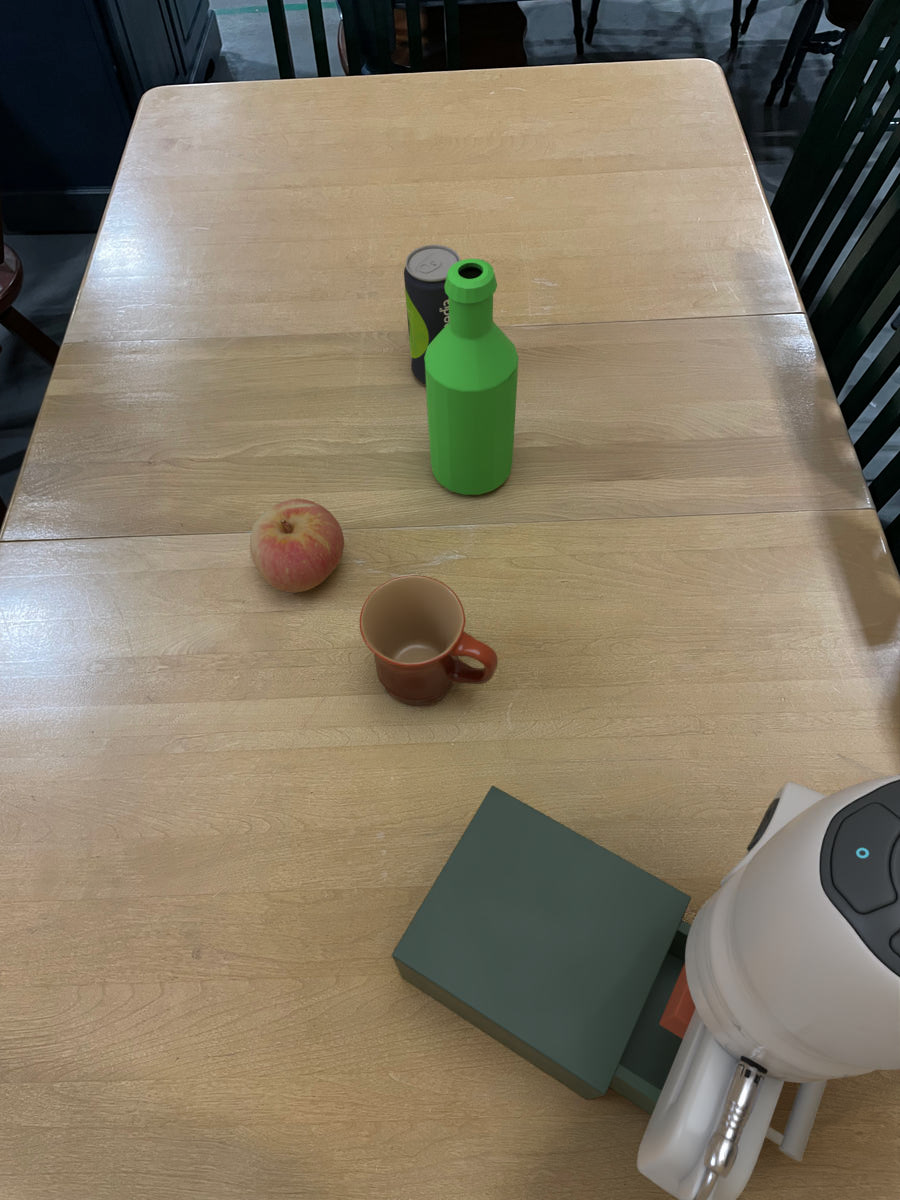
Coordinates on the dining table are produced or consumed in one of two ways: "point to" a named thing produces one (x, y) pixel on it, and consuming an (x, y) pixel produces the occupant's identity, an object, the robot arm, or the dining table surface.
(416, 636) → the mug
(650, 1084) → the drawer
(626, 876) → the cabinet
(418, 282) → the beverage can
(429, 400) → the bottle
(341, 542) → the apple
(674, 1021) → the block
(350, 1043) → the dining table surface
